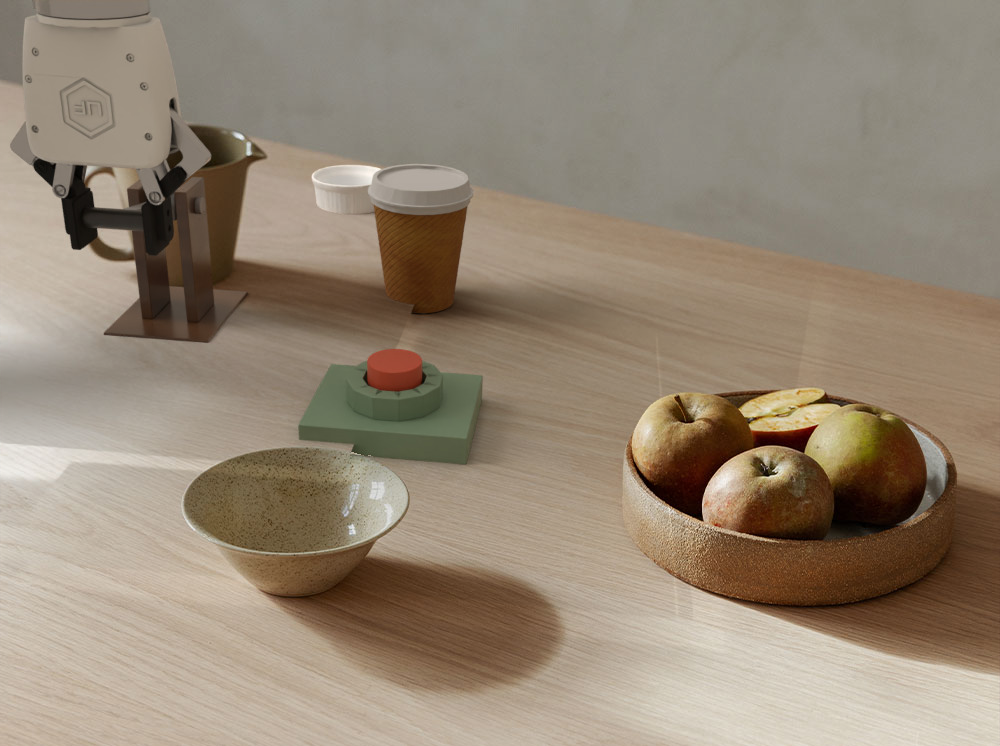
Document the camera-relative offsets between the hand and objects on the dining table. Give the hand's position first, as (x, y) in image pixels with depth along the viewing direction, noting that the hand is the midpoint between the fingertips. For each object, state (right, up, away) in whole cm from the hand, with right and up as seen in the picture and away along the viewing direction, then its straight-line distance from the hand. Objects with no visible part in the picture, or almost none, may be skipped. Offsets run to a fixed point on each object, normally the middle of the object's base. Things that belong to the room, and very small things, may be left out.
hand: (121, 244), depth 84 cm
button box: (+21, -14, -1) cm, 25 cm away
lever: (0, +2, +4) cm, 5 cm away
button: (+21, -10, -3) cm, 24 cm away
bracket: (+1, -5, +13) cm, 15 cm away
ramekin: (+12, +9, +43) cm, 46 cm away
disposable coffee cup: (+21, -3, +20) cm, 30 cm away
